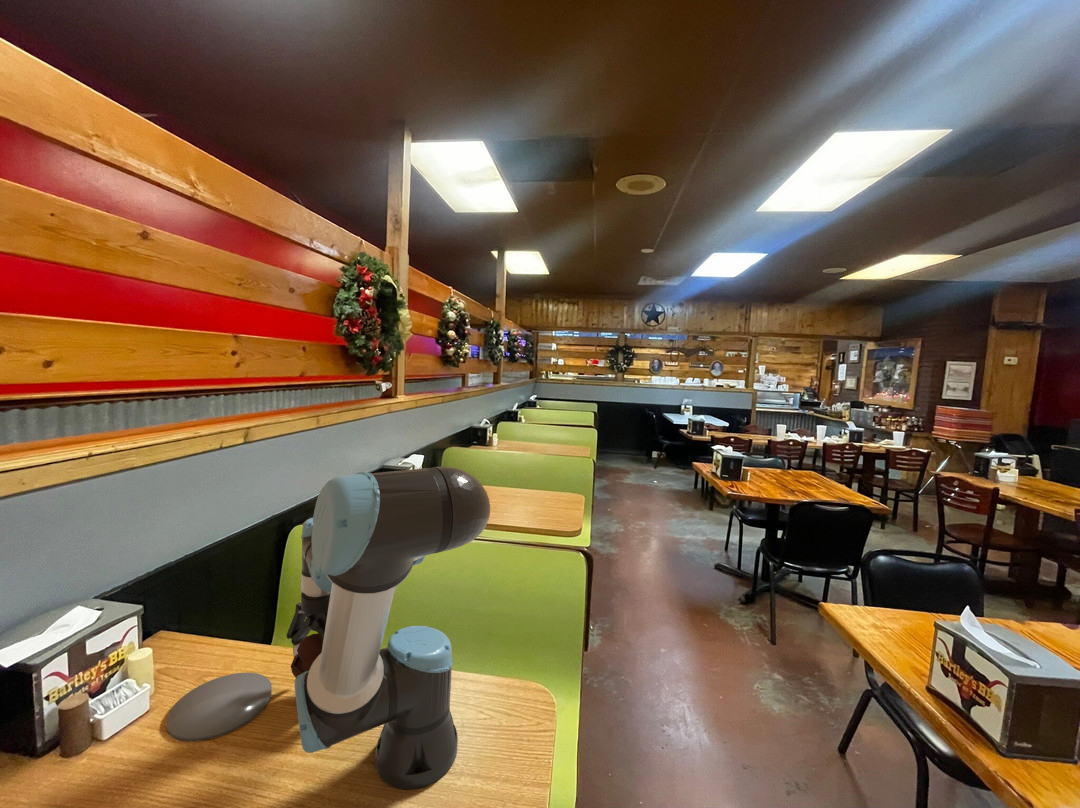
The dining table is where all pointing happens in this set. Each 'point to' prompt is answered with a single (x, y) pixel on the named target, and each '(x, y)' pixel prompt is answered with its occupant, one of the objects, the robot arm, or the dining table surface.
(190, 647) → the dining table surface
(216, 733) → the grey smooth oval disc
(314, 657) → the ice cream bowl
